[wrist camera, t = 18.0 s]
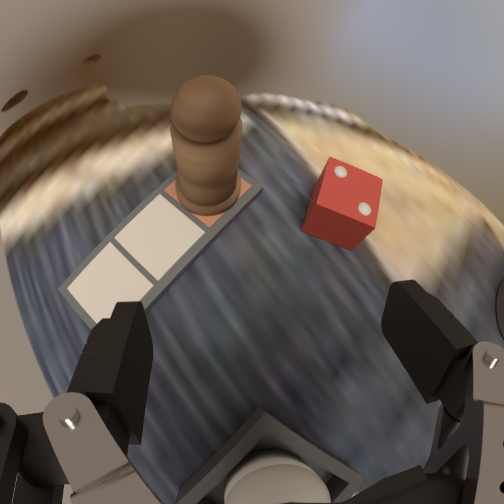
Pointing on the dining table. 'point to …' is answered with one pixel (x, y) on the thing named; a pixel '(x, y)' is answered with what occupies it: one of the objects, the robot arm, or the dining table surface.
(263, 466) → the dome
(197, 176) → the wooden pawn
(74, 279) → the track board
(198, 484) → the base
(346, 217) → the red die
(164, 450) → the dining table surface
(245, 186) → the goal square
